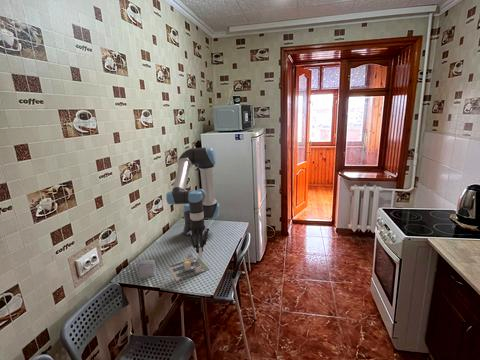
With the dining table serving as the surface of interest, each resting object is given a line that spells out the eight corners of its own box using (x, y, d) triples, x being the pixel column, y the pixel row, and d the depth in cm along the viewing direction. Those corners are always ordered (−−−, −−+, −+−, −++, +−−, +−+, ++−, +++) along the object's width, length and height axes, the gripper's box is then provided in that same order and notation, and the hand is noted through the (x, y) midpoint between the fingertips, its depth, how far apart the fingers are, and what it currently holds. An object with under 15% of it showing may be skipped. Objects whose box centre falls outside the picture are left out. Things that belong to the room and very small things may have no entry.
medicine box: (156, 273, 146) (155, 259, 144) (154, 278, 142) (152, 263, 140) (142, 274, 146) (140, 260, 144) (140, 278, 141) (137, 264, 139)
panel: (168, 269, 149) (167, 266, 149) (203, 258, 160) (203, 255, 160) (176, 283, 136) (176, 280, 135) (214, 270, 146) (214, 267, 146)
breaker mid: (184, 268, 147) (183, 261, 146) (189, 267, 148) (188, 260, 147) (186, 271, 144) (185, 264, 143) (191, 269, 146) (190, 262, 145)
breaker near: (194, 271, 144) (194, 264, 143) (199, 269, 145) (199, 262, 144) (196, 274, 141) (196, 266, 140) (201, 272, 143) (201, 265, 142)
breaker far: (187, 261, 154) (186, 255, 153) (192, 260, 155) (191, 253, 154) (189, 264, 151) (188, 257, 150) (194, 262, 153) (193, 255, 152)
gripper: (188, 223, 138) (191, 263, 143) (210, 218, 144) (213, 256, 149) (183, 219, 144) (187, 258, 149) (205, 214, 150) (208, 251, 155)
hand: (200, 257), depth 149 cm, fingers closed
